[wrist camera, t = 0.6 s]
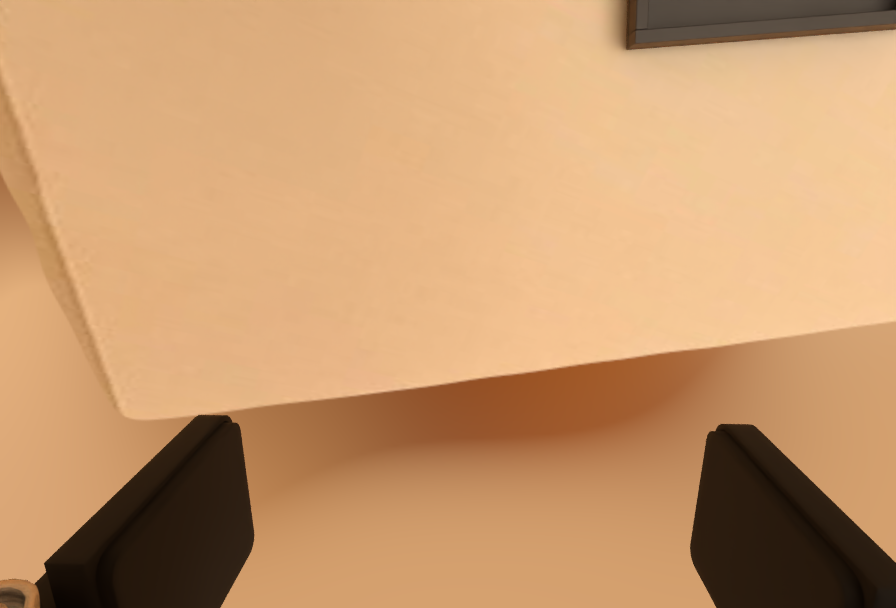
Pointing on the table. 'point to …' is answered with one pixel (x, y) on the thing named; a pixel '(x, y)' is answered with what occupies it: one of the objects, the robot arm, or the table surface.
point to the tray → (750, 20)
